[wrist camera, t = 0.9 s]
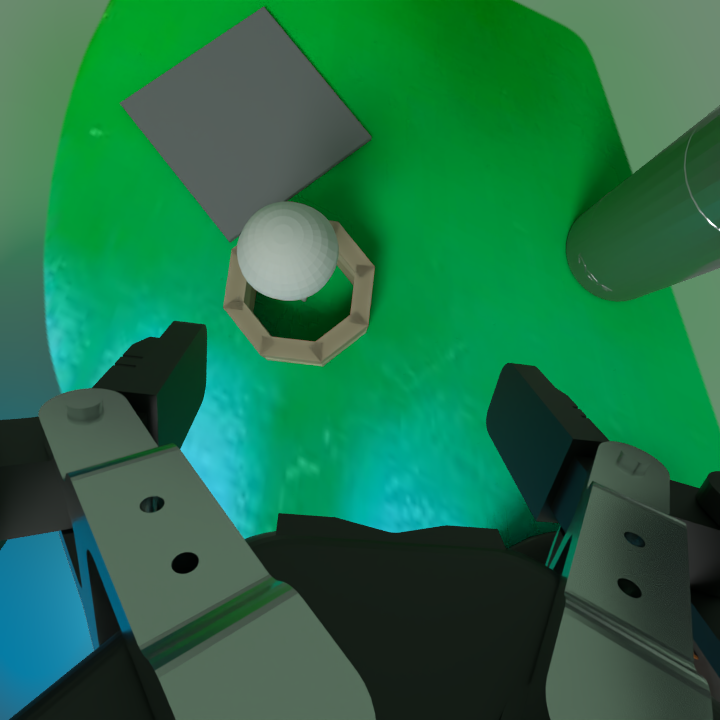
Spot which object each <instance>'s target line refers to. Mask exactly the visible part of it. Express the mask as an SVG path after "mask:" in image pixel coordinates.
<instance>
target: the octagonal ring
mask: <svg viewBox="0 0 720 720" xmlns="http://www.w3.org/2000/svg"><path fill="white" fill-rule="evenodd" d="M329 222H330V224H331V225H332V227H333V229H334V231H335V234H336V237H337V241H338V246H339V256H338V261H337V265H338V267H339V268H340V269H341V270H342V272H343V273H344V274H345V275H346V277H347V278H348V279H349V280H350V282H351V283H352V284H353V285H354V287H353V295H352V304H351V312H350V315H349V316H348V317H347V318H346V319H344V320H343V321H342V322H340V323H339V324H338V325H337V326H335V327H334V328H333V329H331V330H330V331H329V332H327V333H326V334H325V335H324V336H322V337H321V338H320V339H318V340H317V341H316V342H313V341H304V340H296V339H287V338H279V337H272V336H271V334H270V333H269V332H268V331H267V329H266V328H265V327H264V325H263V324H262V323H261V322H260V320H259V319H258V318H257V317H256V315H255V314H254V313H253V311H254V304H255V297H256V290H255V289H254V288H253V287H252V286H251V285H250V284H249V283H248V282H247V280H246V279H245V277H244V276H243V274H242V271H241V269H240V266H239V263H238V258H237V246H236V247H234V248H233V249H232V252H231V258H230V265H229V272H228V279H227V286H226V292H225V299H224V306H223V308H224V309H225V310H226V312H227V313H228V314H229V315H230V317H231V318H232V319H233V320H234V322H235V323H236V324H237V326H238V327H239V328H240V329H241V331H242V332H243V333H244V335H245V336H246V337H247V338H248V340H249V341H250V342H251V343H252V345H253V346H254V347H255V349H256V350H257V351H258V352H259V354H260V355H261V356H263V357H264V358H266V359H267V360H273V361H282V362H290V363H299V364H308V365H316V366H322V367H323V366H324V365H325V364H326V363H328V362H329V361H330V360H331V359H333V358H334V357H335V356H337V355H338V354H339V353H340V352H342V351H343V350H344V349H346V348H347V347H348V346H349V345H351V344H352V343H353V342H354V341H356V340H357V339H358V338H360V337H361V336H362V335H363V334H365V333H366V330H367V328H368V325H369V324H368V323H369V314H370V305H371V296H372V287H373V278H374V270H375V266H374V265H373V264H372V263H371V262H370V260H369V259H368V258H367V257H366V255H365V254H364V253H363V252H362V251H361V249H360V248H359V247H358V246H357V244H356V243H355V242H354V241H353V239H352V238H351V237H350V236H349V235H348V233H347V232H346V231H345V230H344V228H343V227H342V226H341V225H340V223H339V222H336V221H329Z"/></svg>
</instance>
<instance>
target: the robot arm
mask: <svg viewBox="0 0 720 720" xmlns="http://www.w3.org/2000/svg"><path fill="white" fill-rule="evenodd" d="M566 254H567V260H568V264H569V266H570V269H571V271H572V273H573V275H574V276H575V278H576V279H577V281H578V282H579V283H580V284H581V285H582V286H583V287H584V288H585V289H586V290H587V291H589V292H590V293H592V294H594V295H595V296H598V297H600V298H603V299H605V300H611V301H627V300H631V299H635V298H638V297H641V296H643V295H646V294H649V293H652V292H655V291H657V290H660V289H663V288H666V287H669V286H672V285H674V284H677V283H680V282H683V281H685V280H688V279H691V278H693V277H696V276H699V275H702V274H705V273H707V272H710V271H713V270H715V269H718V268H720V106H718V107H717V108H716V109H715V110H713V111H712V112H711V113H709V114H708V115H707V116H706V117H705V118H704V119H702V120H701V121H700V122H698V123H697V124H696V125H695V126H693V127H692V128H691V129H690V130H688V131H687V132H686V133H684V134H683V135H682V136H681V137H679V138H678V139H677V140H676V141H674V142H673V143H672V144H671V145H669V146H668V147H667V148H666V149H664V150H663V151H662V152H660V153H659V154H658V155H657V156H655V157H654V158H653V159H652V160H650V161H649V162H648V163H647V164H645V165H644V166H643V167H641V168H640V169H639V170H638V171H636V172H635V173H634V174H632V175H631V176H630V177H629V178H627V179H626V180H625V181H624V182H622V183H621V184H620V185H619V186H617V187H616V188H615V189H613V190H612V191H611V192H609V193H608V194H607V195H606V196H604V197H603V198H602V199H601V200H599V201H598V202H597V203H596V204H594V205H593V206H592V207H591V208H589V209H588V210H587V211H586V212H584V213H583V214H582V215H581V216H579V218H578V219H577V220H576V221H575V222H574V224H573V225H572V228H571V230H570V232H569V234H568V238H567V243H566ZM206 363H207V329H206V325H204V324H196V323H188V322H180V321H174V322H172V324H171V325H170V326H169V327H168V328H167V330H166V331H165V332H164V333H163V334H162V336H161V337H160V338H155V337H148V338H146V339H144V340H141V341H139V342H137V343H135V344H133V345H132V346H131V347H130V348H129V349H128V350H127V351H126V352H125V353H124V354H123V357H120V358H119V359H118V361H117V362H116V363H115V366H114V365H113V366H112V367H111V368H110V369H109V370H108V371H107V372H106V373H105V374H104V375H103V377H102V378H101V379H100V380H99V381H98V382H97V383H96V384H95V385H94V386H93V387H92V388H89V389H80V390H74V391H70V392H66V393H63V394H60V395H58V396H55V397H54V398H52V399H50V400H48V401H47V402H46V403H45V404H44V405H43V406H42V407H41V408H40V410H39V414H38V415H39V417H32V418H22V419H10V420H0V550H1V548H2V547H3V545H4V544H5V543H6V541H7V539H13V538H19V537H25V536H30V535H36V534H42V533H48V532H54V531H59V536H60V539H61V542H62V545H63V548H64V551H65V554H66V557H67V560H68V563H69V566H70V569H71V572H72V575H73V578H74V581H75V583H76V587H77V590H78V592H79V595H80V599H81V602H82V605H83V608H84V612H85V615H86V619H87V624H88V628H89V633H90V637H91V640H92V644H93V648H94V652H92V653H91V654H90V655H89V656H87V657H86V658H85V659H84V660H82V661H81V662H80V663H78V664H77V665H76V666H75V667H73V668H72V669H71V670H70V671H69V672H67V673H66V674H65V675H64V676H62V677H61V678H60V679H59V680H57V681H56V682H55V683H54V684H52V685H51V686H50V687H49V688H47V689H46V690H45V691H44V692H43V693H41V694H40V695H39V696H38V697H36V698H35V699H34V700H33V701H31V702H30V703H29V704H28V705H27V706H25V707H24V708H23V709H22V710H20V711H19V712H18V713H17V714H15V715H14V716H13V717H12V718H10V719H9V720H720V703H719V702H718V701H717V700H716V699H714V698H713V697H712V696H711V693H710V689H709V685H708V683H707V681H706V679H705V678H704V677H703V676H702V675H700V674H699V673H698V672H697V671H696V669H695V665H694V653H693V640H694V641H695V643H696V644H697V645H698V647H699V648H700V650H701V651H702V653H703V654H704V656H705V657H706V659H707V660H708V662H709V663H710V665H711V666H712V668H713V669H714V671H715V672H716V674H717V675H718V677H719V678H720V471H715V472H711V473H710V474H709V475H708V476H707V478H706V479H705V481H704V483H703V484H702V486H701V487H700V488H696V487H693V486H689V485H686V484H683V483H679V482H676V481H672V480H670V476H669V472H668V470H667V469H666V468H665V467H664V465H663V464H662V463H660V462H659V461H658V460H657V459H655V458H654V457H653V456H651V455H649V454H648V453H646V452H644V451H642V450H640V449H638V448H636V447H633V446H631V445H628V444H624V443H620V442H614V441H609V440H608V439H607V438H606V437H605V435H604V434H603V433H602V432H601V431H600V430H599V429H598V428H597V427H596V426H595V425H594V424H593V423H592V421H591V420H590V419H589V418H586V415H585V414H584V413H583V412H582V411H581V410H580V409H578V406H577V405H576V404H575V403H574V402H573V401H572V400H571V399H570V398H569V397H568V396H567V395H566V394H564V393H563V392H561V391H560V390H558V389H557V388H555V387H554V386H553V385H552V383H551V382H550V381H549V380H548V379H547V378H546V377H545V376H544V375H543V374H542V372H541V371H540V370H539V369H538V368H537V367H535V366H530V365H522V364H514V363H507V364H506V365H505V366H504V367H503V369H502V371H501V373H500V376H499V379H498V382H497V385H496V388H495V391H494V394H493V397H492V400H491V403H490V406H489V409H488V412H487V418H486V425H487V431H488V433H489V435H490V437H491V439H492V441H493V443H494V445H495V446H496V448H497V450H498V452H499V454H500V456H501V458H502V459H503V461H504V463H505V465H506V467H507V469H508V470H509V472H510V474H511V476H512V478H513V480H514V481H515V483H516V485H517V487H518V489H519V491H520V492H521V494H522V496H523V498H524V500H525V502H526V503H527V505H528V507H529V509H530V511H531V513H532V515H533V516H534V518H535V520H536V521H540V522H553V523H559V524H560V527H559V529H558V531H557V534H556V536H555V538H554V541H553V543H552V546H551V549H550V552H549V555H548V558H547V561H546V564H545V565H544V564H542V563H540V562H539V561H537V560H535V559H533V558H531V557H529V556H527V555H525V554H522V553H520V552H517V551H514V550H512V549H509V548H505V545H504V543H503V541H502V538H501V536H500V534H499V532H498V529H488V528H474V527H461V526H447V525H446V526H440V527H433V528H426V529H420V530H413V531H407V532H400V533H391V532H386V531H383V530H379V529H375V528H372V527H368V526H364V525H361V524H357V523H354V522H350V521H346V520H343V519H339V518H335V517H323V516H309V515H295V514H281V513H279V514H278V522H277V530H276V531H274V532H268V533H263V534H259V535H255V536H252V537H249V538H246V539H244V538H243V537H242V536H241V534H240V533H239V531H238V530H237V529H236V527H235V526H234V524H233V523H232V522H231V520H230V519H229V517H228V516H227V515H226V513H225V512H224V510H223V509H222V508H221V506H220V505H219V503H218V502H217V501H216V499H215V498H214V496H213V495H212V494H211V492H210V491H209V489H208V488H207V487H206V485H205V484H204V482H203V481H202V480H201V478H200V477H199V475H198V474H197V473H196V471H195V470H194V469H193V467H192V466H191V464H190V463H189V462H188V460H187V459H186V457H185V456H184V455H183V453H182V452H181V450H180V448H181V446H182V444H183V442H184V440H185V438H186V436H187V433H188V431H189V429H190V427H191V425H192V423H193V421H194V419H195V416H196V414H197V412H198V410H199V408H200V406H201V404H202V401H203V398H204V393H205V387H206Z"/></svg>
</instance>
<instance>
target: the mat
mask: <svg viewBox="0 0 720 720" xmlns="http://www.w3.org/2000/svg"><path fill="white" fill-rule="evenodd" d="M120 104H121V105H122V107H123V108H124V109H125V111H126V112H127V113H128V114H129V116H130V117H131V118H132V119H133V121H134V122H135V123H136V124H137V126H138V127H139V128H140V129H141V131H142V132H143V133H144V135H145V136H146V137H147V138H148V140H149V141H150V142H151V143H152V145H153V146H154V147H155V148H156V150H157V151H158V152H159V153H160V155H161V156H162V157H163V158H164V160H165V161H166V162H167V164H168V165H169V166H170V167H171V169H172V170H173V171H174V172H175V174H176V175H177V176H178V177H179V179H180V180H181V181H182V182H183V184H184V185H185V186H186V188H187V189H188V190H189V191H190V193H191V194H192V195H193V196H194V198H195V199H196V200H197V201H198V203H199V204H200V205H201V206H202V208H203V209H204V210H205V211H206V213H207V214H208V215H209V217H210V218H211V219H212V220H213V222H214V223H215V224H216V225H217V227H218V228H219V229H220V230H221V232H222V233H223V234H224V235H225V237H226V238H227V239H228V241H229V242H231V241H233V240H234V239H235V238H237V237H238V236H240V234H241V232H242V230H243V228H244V226H245V225H246V223H247V222H248V220H249V219H250V218H251V216H253V215H254V214H255V213H256V212H257V211H258V210H260V209H261V208H263V207H265V206H267V205H270V204H272V203H277V202H283V201H285V202H286V201H288V200H289V199H290V198H292V197H293V196H294V195H296V194H297V193H299V192H300V191H301V190H303V189H304V188H305V187H307V186H308V185H310V184H311V183H312V182H314V181H315V180H316V179H318V178H319V177H320V176H322V175H323V174H325V173H326V172H327V171H329V170H330V169H331V168H333V167H334V166H336V165H337V164H338V163H340V162H341V161H342V160H344V159H345V158H347V157H348V156H349V155H351V154H352V153H353V152H355V151H356V150H358V149H359V148H360V147H362V146H363V145H364V144H366V143H367V142H369V141H370V140H371V136H370V135H369V133H368V132H367V131H366V130H365V129H364V127H363V126H362V125H361V124H360V122H359V121H358V120H357V119H356V118H355V116H354V115H353V114H352V113H351V112H350V110H349V109H348V108H347V107H346V106H345V104H344V103H343V102H342V101H341V99H340V98H339V97H338V96H337V95H336V93H335V92H334V91H333V90H332V89H331V87H330V86H329V85H328V84H327V83H326V81H325V80H324V79H323V78H322V76H321V75H320V74H319V73H318V72H317V70H316V69H315V68H314V67H313V66H312V64H311V63H310V62H309V61H308V60H307V58H306V57H305V56H304V55H303V53H302V52H301V51H300V50H299V49H298V47H297V46H296V45H295V44H294V43H293V41H292V40H291V39H290V38H289V37H288V35H287V34H286V33H285V32H284V30H283V29H282V28H281V27H280V26H279V24H278V23H277V22H276V21H275V20H274V18H273V17H272V16H271V15H270V14H269V12H268V11H267V10H266V9H265V7H262V8H261V9H259V10H258V11H256V12H255V13H254V14H252V15H251V16H249V17H248V18H246V19H245V20H243V21H242V22H240V23H239V24H237V25H236V26H234V27H233V28H231V29H230V30H228V31H227V32H225V33H224V34H222V35H221V36H219V37H218V38H216V39H215V40H213V41H212V42H210V43H209V44H207V45H206V46H204V47H203V48H201V49H200V50H198V51H197V52H195V53H194V54H192V55H191V56H189V57H188V58H186V59H185V60H183V61H182V62H180V63H179V64H177V65H176V66H174V67H173V68H171V69H170V70H168V71H167V72H166V73H164V74H163V75H161V76H160V77H158V78H157V79H155V80H154V81H152V82H151V83H149V84H148V85H146V86H145V87H143V88H142V89H140V90H139V91H137V92H136V93H134V94H133V95H131V96H130V97H128V98H127V99H125V100H124V101H122V102H121V103H120Z"/></svg>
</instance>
